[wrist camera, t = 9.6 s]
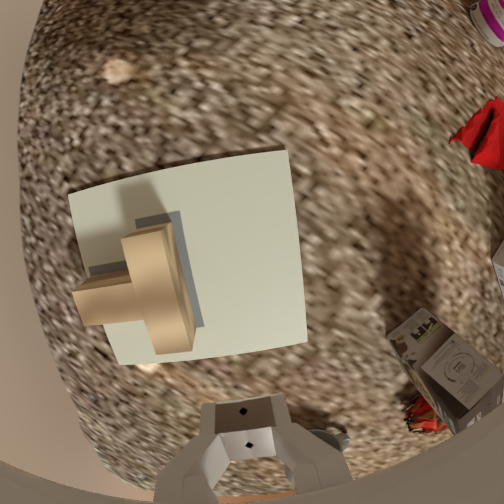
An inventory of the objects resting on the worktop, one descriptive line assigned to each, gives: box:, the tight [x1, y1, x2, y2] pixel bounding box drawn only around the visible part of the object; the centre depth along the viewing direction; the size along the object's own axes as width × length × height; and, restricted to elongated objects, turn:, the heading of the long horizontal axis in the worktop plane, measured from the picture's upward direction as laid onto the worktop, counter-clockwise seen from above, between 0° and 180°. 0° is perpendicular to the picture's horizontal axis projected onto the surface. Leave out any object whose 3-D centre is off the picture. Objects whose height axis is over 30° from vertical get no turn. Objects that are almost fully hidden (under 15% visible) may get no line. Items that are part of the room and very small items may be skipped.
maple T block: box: [72, 222, 197, 355], centre depth 25 cm, size 11×10×4 cm
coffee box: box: [387, 307, 504, 435], centre depth 25 cm, size 9×6×16 cm
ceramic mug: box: [285, 429, 351, 485], centre depth 32 cm, size 11×8×8 cm
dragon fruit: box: [403, 393, 449, 434], centre depth 33 cm, size 8×8×12 cm
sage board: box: [68, 150, 307, 365], centre depth 27 cm, size 20×22×1 cm
